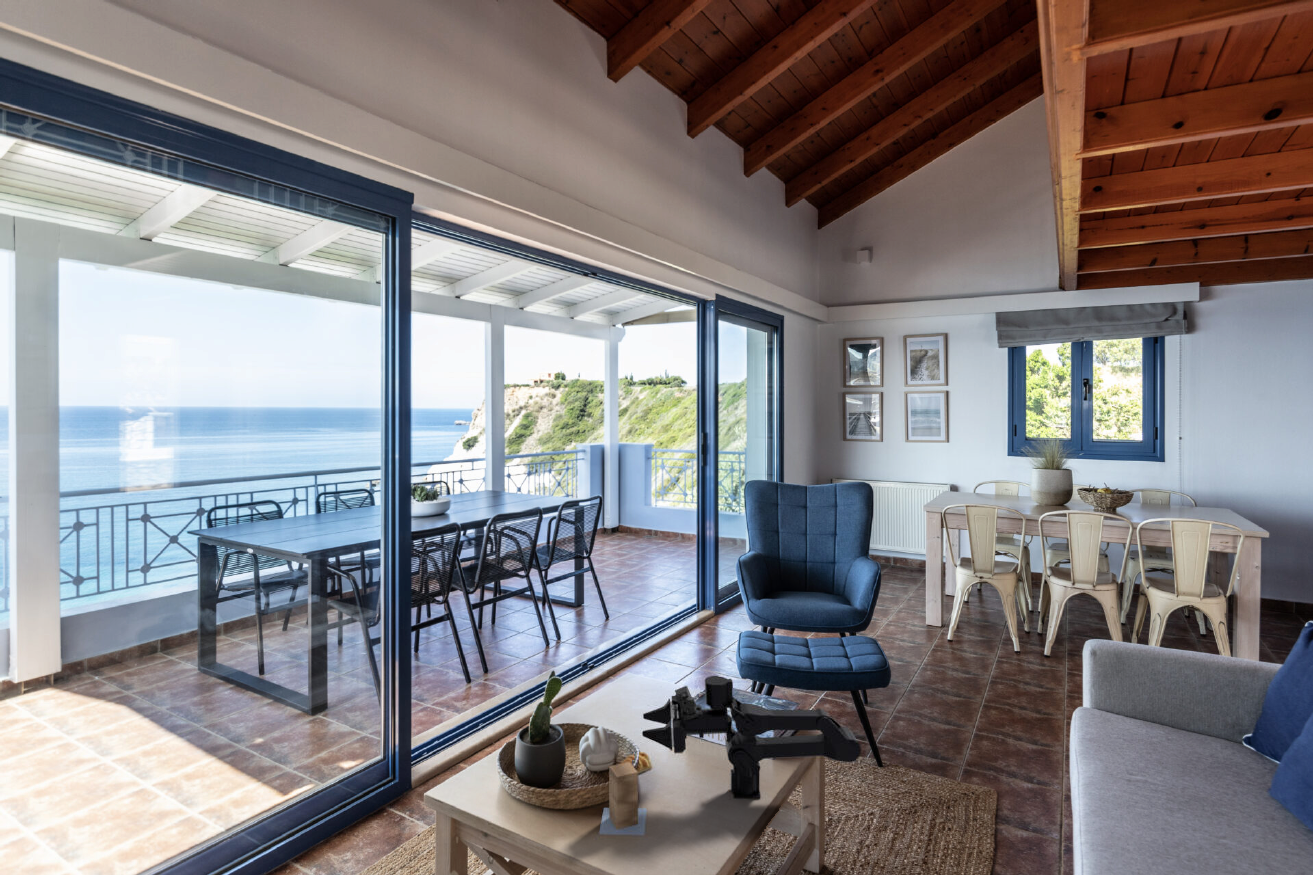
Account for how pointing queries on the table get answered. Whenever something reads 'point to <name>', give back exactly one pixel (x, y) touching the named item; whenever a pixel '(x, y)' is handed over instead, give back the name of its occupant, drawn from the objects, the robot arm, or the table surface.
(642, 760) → the pastry
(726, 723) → the robot arm
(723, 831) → the table surface
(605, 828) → the light blue square plate
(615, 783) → the walnut pillar
